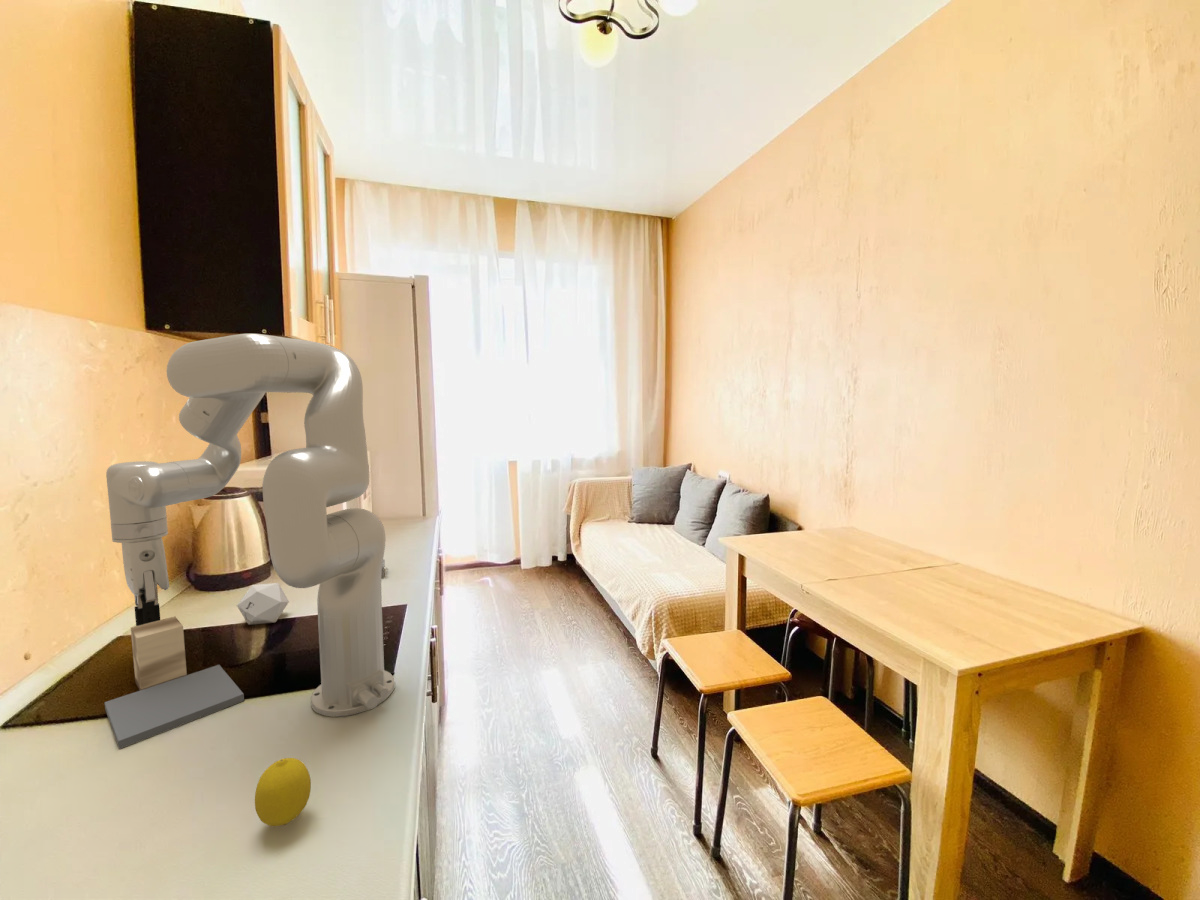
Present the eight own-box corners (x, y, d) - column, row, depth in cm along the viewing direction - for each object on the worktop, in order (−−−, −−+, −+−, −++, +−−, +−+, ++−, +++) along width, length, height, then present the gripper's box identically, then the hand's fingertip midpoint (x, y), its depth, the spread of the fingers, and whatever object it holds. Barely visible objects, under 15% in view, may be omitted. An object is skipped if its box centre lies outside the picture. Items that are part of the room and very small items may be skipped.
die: (238, 622, 113) (223, 598, 106) (273, 591, 119) (260, 567, 113) (266, 639, 111) (253, 616, 104) (300, 608, 118) (289, 584, 111)
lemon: (245, 835, 57) (241, 770, 56) (290, 799, 62) (287, 739, 61) (279, 850, 55) (275, 783, 54) (323, 812, 60) (320, 750, 60)
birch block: (187, 680, 88) (182, 625, 88) (141, 695, 84) (136, 638, 83) (179, 668, 92) (175, 616, 91) (135, 682, 88) (130, 627, 87)
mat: (244, 700, 82) (243, 693, 82) (119, 748, 71) (118, 741, 71) (219, 670, 91) (219, 664, 91) (105, 709, 80) (104, 702, 80)
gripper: (176, 532, 89) (183, 630, 91) (158, 519, 99) (166, 608, 101) (118, 541, 83) (127, 646, 85) (105, 526, 93) (114, 621, 95)
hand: (148, 625), depth 93 cm, fingers closed
